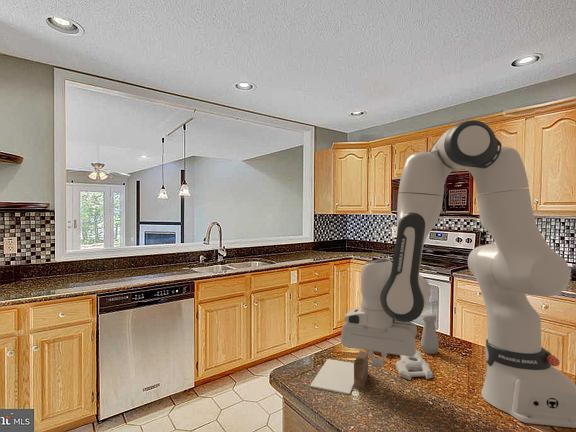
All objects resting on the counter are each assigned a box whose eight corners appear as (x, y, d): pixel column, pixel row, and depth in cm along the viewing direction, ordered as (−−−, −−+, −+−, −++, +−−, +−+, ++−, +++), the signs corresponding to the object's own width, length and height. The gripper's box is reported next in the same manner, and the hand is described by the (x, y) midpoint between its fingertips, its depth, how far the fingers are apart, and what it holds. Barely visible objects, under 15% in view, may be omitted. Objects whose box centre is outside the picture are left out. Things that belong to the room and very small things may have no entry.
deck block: (368, 373, 97) (367, 352, 97) (362, 388, 88) (362, 364, 88) (360, 372, 97) (359, 350, 98) (354, 387, 89) (353, 363, 89)
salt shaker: (418, 348, 115) (417, 311, 115) (434, 348, 114) (434, 311, 114) (424, 355, 109) (424, 316, 109) (441, 355, 109) (441, 316, 109)
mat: (361, 365, 102) (361, 364, 102) (349, 394, 85) (349, 393, 85) (327, 360, 106) (327, 358, 106) (309, 386, 89) (309, 385, 89)
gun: (389, 343, 110) (419, 345, 109) (389, 353, 110) (419, 355, 109) (401, 372, 92) (438, 374, 91) (401, 383, 92) (438, 386, 91)
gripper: (417, 317, 90) (417, 367, 90) (344, 310, 98) (344, 356, 98) (416, 324, 84) (417, 378, 84) (339, 316, 92) (339, 364, 92)
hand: (377, 366), depth 91 cm, fingers closed
